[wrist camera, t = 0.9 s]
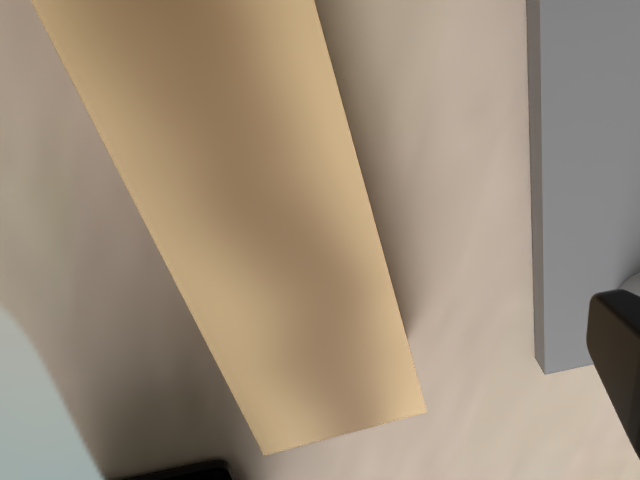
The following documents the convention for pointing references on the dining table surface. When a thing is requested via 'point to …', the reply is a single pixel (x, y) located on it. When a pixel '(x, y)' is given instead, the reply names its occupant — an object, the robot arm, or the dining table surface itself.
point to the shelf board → (250, 201)
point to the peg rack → (582, 165)
